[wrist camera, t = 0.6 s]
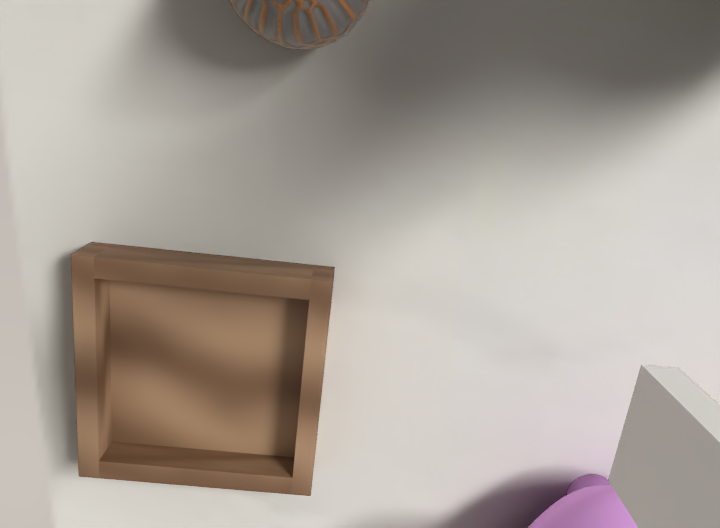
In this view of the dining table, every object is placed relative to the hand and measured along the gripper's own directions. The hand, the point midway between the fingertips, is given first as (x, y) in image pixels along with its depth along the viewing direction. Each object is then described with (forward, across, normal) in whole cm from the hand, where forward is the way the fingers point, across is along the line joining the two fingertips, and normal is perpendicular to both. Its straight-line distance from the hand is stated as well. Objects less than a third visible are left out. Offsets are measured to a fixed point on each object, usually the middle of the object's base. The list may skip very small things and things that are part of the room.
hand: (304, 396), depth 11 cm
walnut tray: (+22, -7, -12) cm, 26 cm away
